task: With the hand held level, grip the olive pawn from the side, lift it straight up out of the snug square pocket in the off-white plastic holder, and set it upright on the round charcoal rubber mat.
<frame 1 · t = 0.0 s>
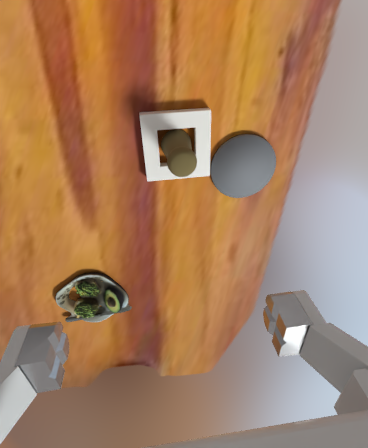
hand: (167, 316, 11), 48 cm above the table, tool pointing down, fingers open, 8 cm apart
salad plate: (96, 294, 77), on the table
olive pawn: (176, 144, 57), resting in pocket holder
pocket holder: (176, 144, 56), on the table
charcoal mat: (242, 166, 61), on the table
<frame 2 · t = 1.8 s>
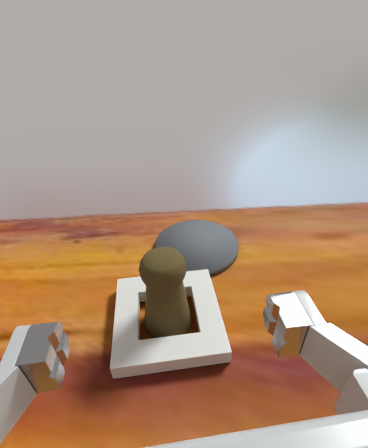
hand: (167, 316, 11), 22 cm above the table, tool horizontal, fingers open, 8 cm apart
olive pawn: (168, 321, 37), resting in pocket holder
pocket holder: (168, 320, 37), on the table
charcoal mat: (196, 247, 49), on the table
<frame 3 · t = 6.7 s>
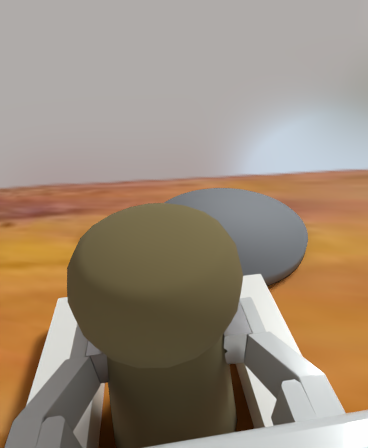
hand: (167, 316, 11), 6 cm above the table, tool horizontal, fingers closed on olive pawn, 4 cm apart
olive pawn: (175, 412, 14), resting in pocket holder, touching gripper
pocket holder: (175, 410, 14), on the table
charcoal mat: (223, 233, 26), on the table
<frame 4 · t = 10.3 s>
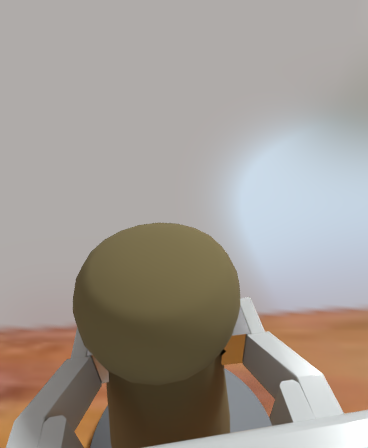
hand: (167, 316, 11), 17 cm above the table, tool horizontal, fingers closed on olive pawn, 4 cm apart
olive pawn: (170, 420, 15), point 10 cm above the table, touching gripper
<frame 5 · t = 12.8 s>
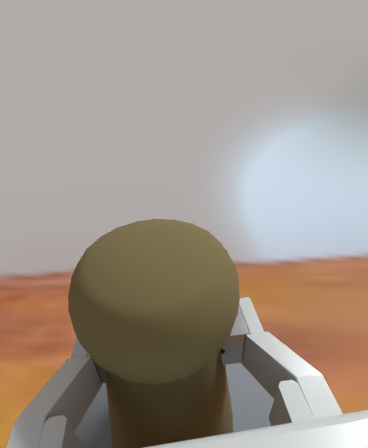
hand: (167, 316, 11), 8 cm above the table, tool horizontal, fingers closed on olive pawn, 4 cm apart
olive pawn: (173, 420, 14), point 1 cm above the table, touching charcoal mat, gripper
charcoal mat: (179, 424, 15), on the table
when the fingers open (8 cm above the table, at t = 13.4 s): olive pawn stays where it is, resting on charcoal mat.
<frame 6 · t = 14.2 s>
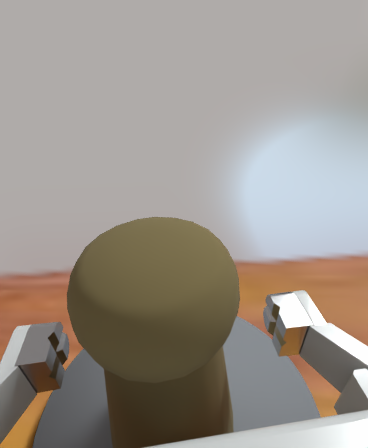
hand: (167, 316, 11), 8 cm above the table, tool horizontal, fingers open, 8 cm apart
olive pawn: (173, 419, 14), point 1 cm above the table, touching charcoal mat
charcoal mat: (179, 423, 15), on the table
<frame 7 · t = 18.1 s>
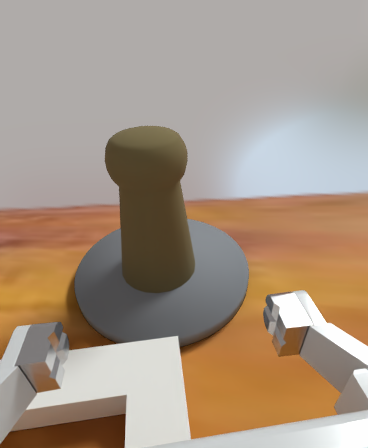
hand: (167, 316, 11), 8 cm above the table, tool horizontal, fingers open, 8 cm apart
olive pawn: (159, 266, 24), point 1 cm above the table, touching charcoal mat
charcoal mat: (163, 272, 24), on the table
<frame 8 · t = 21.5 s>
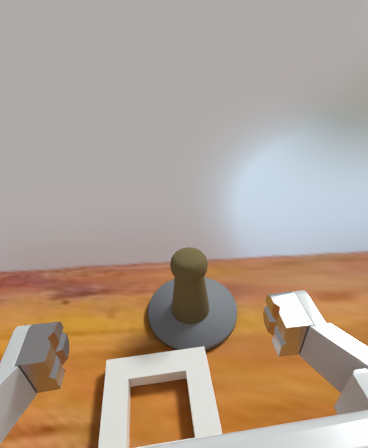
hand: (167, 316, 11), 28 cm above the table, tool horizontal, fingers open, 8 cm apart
olive pawn: (190, 308, 45), point 1 cm above the table, touching charcoal mat
pocket holder: (160, 413, 34), on the table
charcoal mat: (192, 311, 46), on the table
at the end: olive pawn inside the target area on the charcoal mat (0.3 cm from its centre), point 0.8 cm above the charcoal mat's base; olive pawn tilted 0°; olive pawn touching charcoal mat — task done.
